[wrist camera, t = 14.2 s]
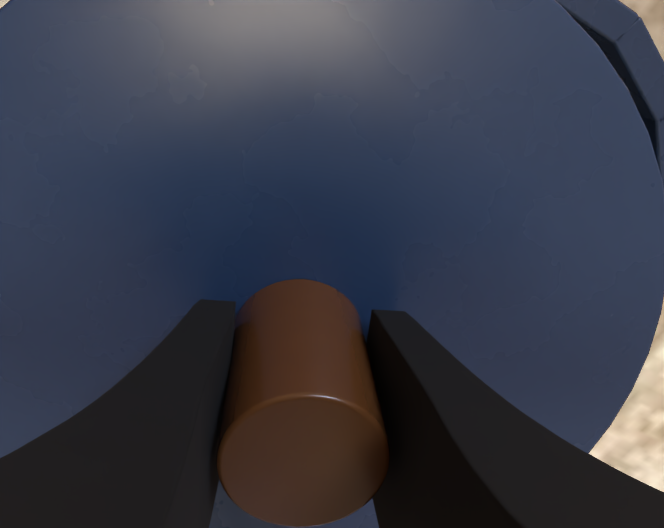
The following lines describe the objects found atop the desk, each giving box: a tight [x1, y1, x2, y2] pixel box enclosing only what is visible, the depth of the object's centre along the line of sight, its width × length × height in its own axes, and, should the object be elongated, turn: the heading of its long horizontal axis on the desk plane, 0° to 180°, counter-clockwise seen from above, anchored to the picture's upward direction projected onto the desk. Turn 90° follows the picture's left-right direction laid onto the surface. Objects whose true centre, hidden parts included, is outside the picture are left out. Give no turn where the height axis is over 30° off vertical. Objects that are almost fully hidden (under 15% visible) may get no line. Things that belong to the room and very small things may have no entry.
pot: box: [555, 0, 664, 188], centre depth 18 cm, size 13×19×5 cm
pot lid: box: [0, 0, 664, 528], centre depth 11 cm, size 14×14×4 cm
